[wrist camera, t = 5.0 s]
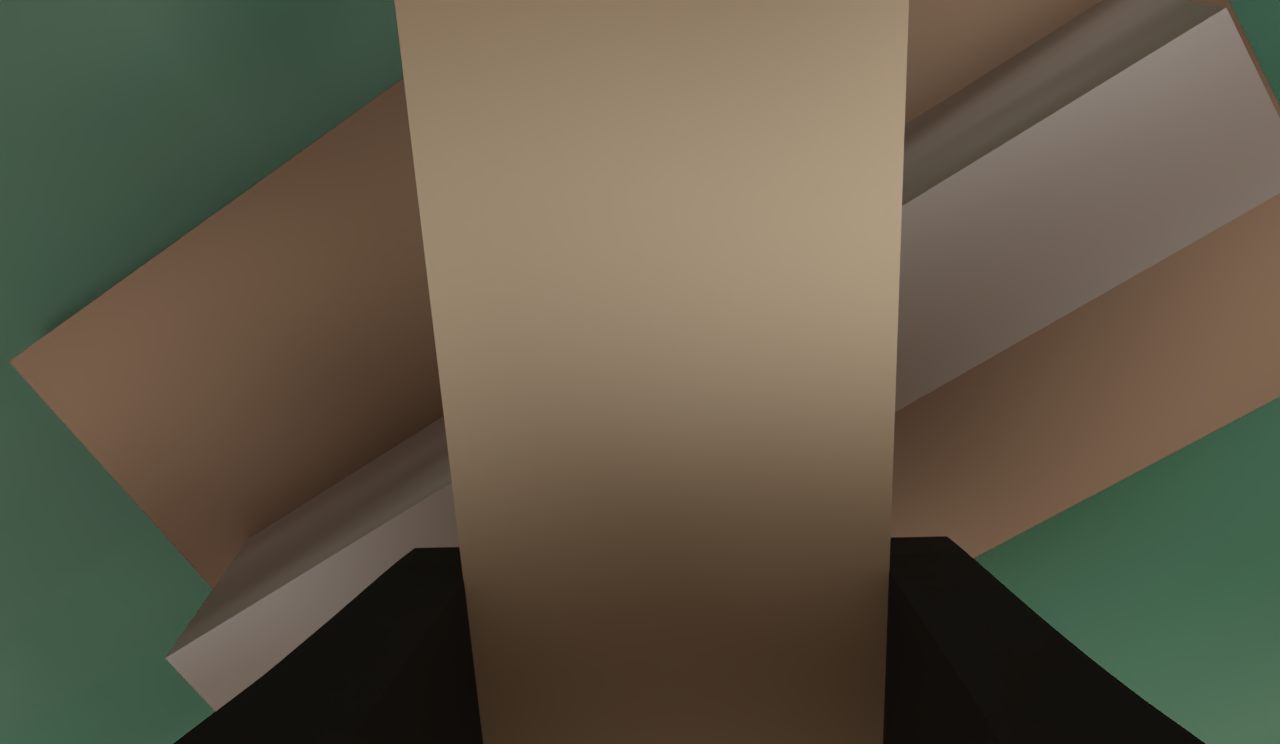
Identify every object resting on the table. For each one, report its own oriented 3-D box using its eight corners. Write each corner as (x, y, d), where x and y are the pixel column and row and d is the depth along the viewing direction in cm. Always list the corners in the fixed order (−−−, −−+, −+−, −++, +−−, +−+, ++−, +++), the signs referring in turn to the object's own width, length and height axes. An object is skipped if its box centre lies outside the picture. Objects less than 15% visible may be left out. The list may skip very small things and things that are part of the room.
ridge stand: (44, 338, 18) (-128, 452, 14) (1020, -364, 14) (1140, -462, 10) (450, 798, 21) (398, 996, 17) (1352, 313, 17) (1540, 429, 13)
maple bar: (808, 1064, 17) (857, 1499, 13) (599, 1066, 17) (572, 1496, 13) (819, -685, 10) (949, -1208, 5) (454, -660, 10) (258, -1144, 5)
